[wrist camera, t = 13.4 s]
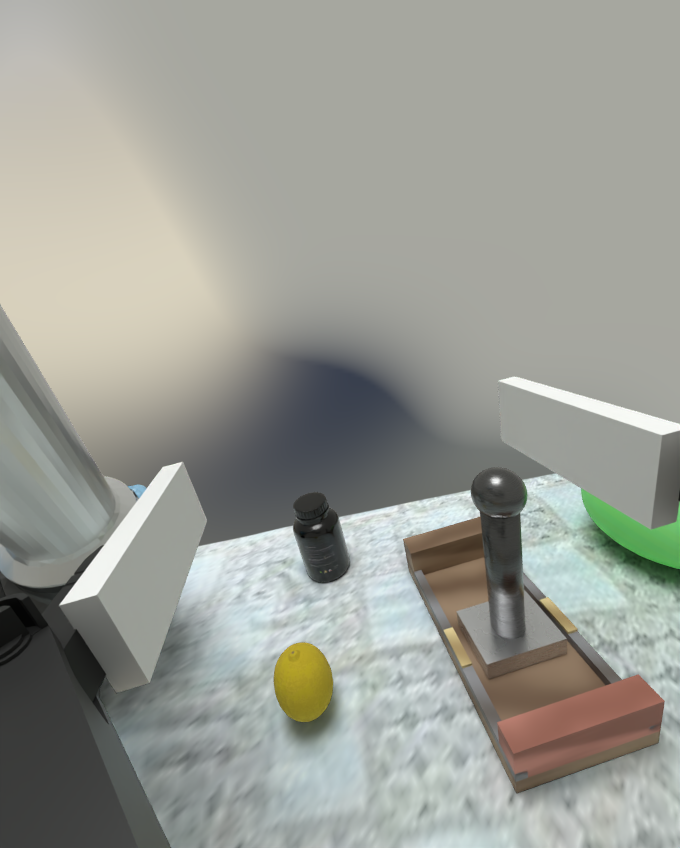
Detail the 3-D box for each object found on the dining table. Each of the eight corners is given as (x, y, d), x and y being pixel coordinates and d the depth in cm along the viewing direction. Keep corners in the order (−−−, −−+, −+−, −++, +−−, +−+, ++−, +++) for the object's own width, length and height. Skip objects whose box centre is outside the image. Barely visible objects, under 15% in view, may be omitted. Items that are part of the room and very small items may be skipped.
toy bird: (554, 536, 49) (553, 443, 44) (628, 490, 54) (635, 402, 49) (734, 634, 33) (764, 505, 28) (814, 556, 38) (852, 435, 33)
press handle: (458, 624, 38) (436, 467, 31) (525, 603, 39) (518, 445, 32) (488, 679, 32) (469, 501, 26) (566, 653, 33) (568, 473, 26)
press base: (409, 570, 49) (403, 539, 47) (488, 547, 50) (485, 515, 48) (516, 793, 26) (512, 749, 24) (658, 742, 27) (665, 696, 25)
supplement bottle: (307, 556, 56) (288, 493, 52) (348, 547, 56) (332, 483, 52) (306, 589, 50) (283, 520, 46) (352, 579, 50) (334, 509, 46)
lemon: (335, 672, 38) (318, 618, 35) (345, 729, 33) (325, 671, 30) (286, 689, 37) (264, 636, 35) (287, 750, 32) (262, 693, 29)
